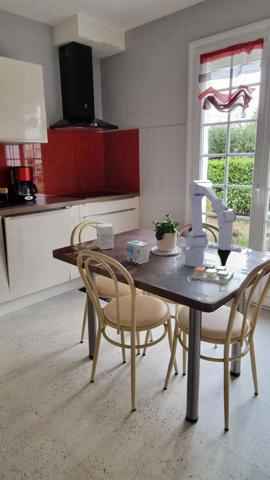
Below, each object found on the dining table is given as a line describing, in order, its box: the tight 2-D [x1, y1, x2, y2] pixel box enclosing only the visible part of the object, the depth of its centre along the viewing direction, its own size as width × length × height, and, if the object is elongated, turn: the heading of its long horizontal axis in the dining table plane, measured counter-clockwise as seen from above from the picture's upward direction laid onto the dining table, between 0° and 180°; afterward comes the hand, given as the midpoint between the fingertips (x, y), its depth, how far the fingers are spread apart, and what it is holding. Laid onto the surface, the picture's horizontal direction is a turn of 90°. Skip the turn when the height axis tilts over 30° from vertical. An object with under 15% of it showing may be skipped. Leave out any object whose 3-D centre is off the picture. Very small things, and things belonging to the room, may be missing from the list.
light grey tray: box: [191, 266, 235, 285], centre depth 155 cm, size 16×13×2 cm
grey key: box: [203, 263, 216, 270], centre depth 159 cm, size 4×4×2 cm
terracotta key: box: [193, 266, 206, 274], centre depth 155 cm, size 4×4×2 cm
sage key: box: [215, 265, 227, 272], centre depth 156 cm, size 4×4×2 cm
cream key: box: [206, 268, 217, 275], centre depth 152 cm, size 4×4×2 cm
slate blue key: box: [217, 270, 230, 278], centre depth 150 cm, size 4×4×2 cm
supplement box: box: [96, 222, 115, 249], centre depth 204 cm, size 9×9×15 cm
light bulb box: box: [126, 239, 150, 265], centre depth 178 cm, size 11×7×11 cm, turn 45°
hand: (223, 265), depth 149 cm, fingers closed
